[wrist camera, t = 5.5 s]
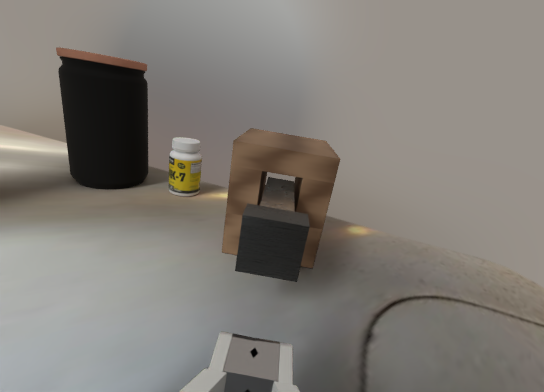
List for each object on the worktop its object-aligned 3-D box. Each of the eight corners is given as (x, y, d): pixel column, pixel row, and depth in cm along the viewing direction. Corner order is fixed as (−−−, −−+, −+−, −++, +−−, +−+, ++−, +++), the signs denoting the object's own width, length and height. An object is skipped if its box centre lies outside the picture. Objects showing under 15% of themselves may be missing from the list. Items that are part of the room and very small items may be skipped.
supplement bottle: (161, 190, 42) (162, 137, 39) (184, 184, 46) (186, 135, 43) (184, 199, 40) (186, 144, 37) (205, 192, 44) (209, 142, 41)
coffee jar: (156, 173, 49) (156, 66, 42) (134, 194, 39) (130, 59, 33) (94, 166, 47) (84, 54, 41) (54, 186, 37) (33, 42, 31)
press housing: (221, 252, 29) (233, 140, 24) (240, 211, 39) (251, 128, 35) (312, 268, 29) (340, 158, 24) (307, 223, 39) (326, 141, 35)
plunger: (235, 270, 19) (242, 214, 17) (256, 206, 30) (262, 168, 28) (296, 281, 19) (309, 226, 17) (295, 212, 30) (302, 175, 28)
